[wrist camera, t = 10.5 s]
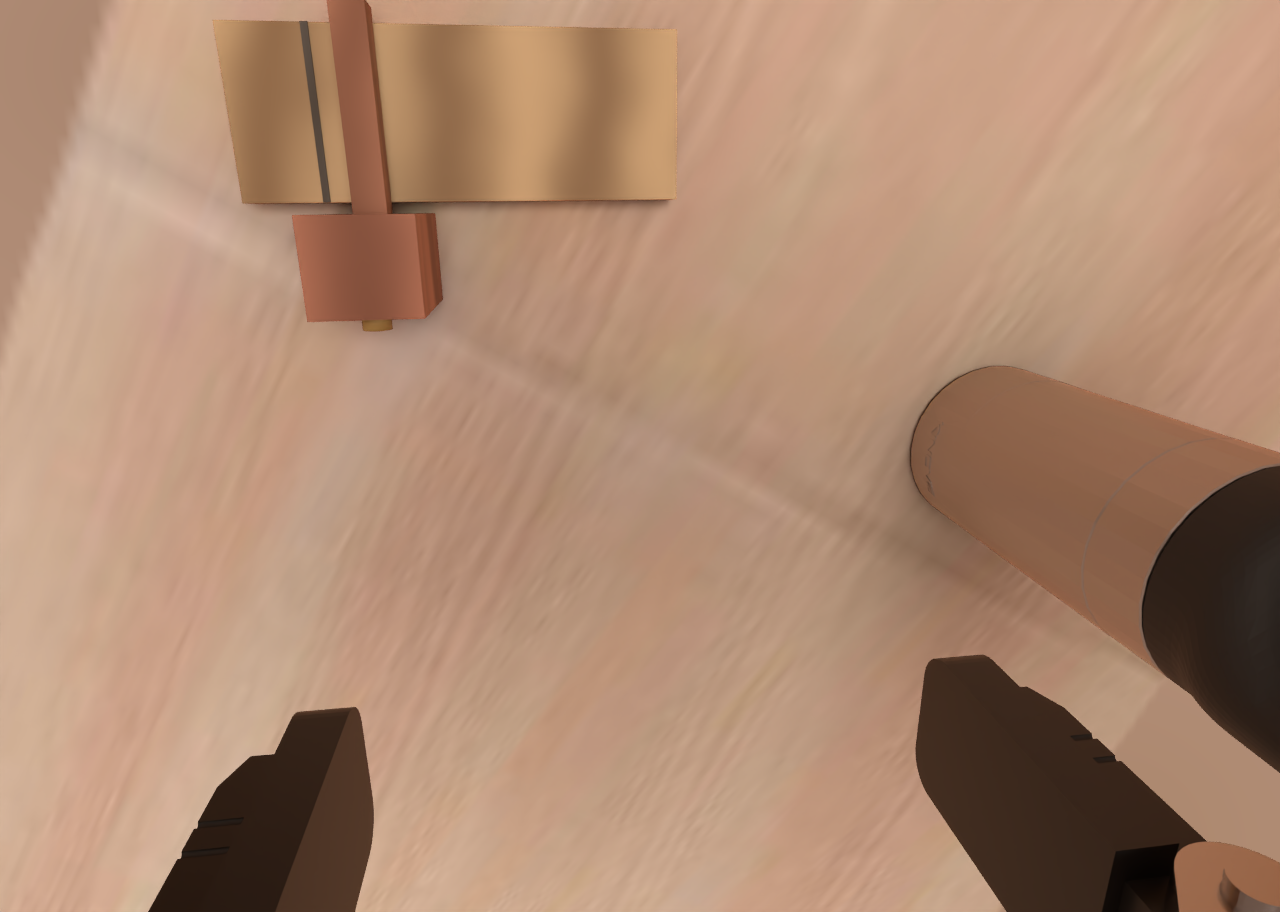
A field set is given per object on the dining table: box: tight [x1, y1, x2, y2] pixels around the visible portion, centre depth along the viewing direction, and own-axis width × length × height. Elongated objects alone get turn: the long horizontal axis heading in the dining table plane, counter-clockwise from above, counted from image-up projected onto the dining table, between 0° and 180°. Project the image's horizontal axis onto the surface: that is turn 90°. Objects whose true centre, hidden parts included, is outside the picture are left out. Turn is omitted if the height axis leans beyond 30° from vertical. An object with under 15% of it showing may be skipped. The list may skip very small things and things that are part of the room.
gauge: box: [292, 0, 443, 331], centre depth 32 cm, size 4×13×7 cm, turn 0°
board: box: [213, 20, 677, 204], centre depth 34 cm, size 19×7×2 cm, turn 90°
